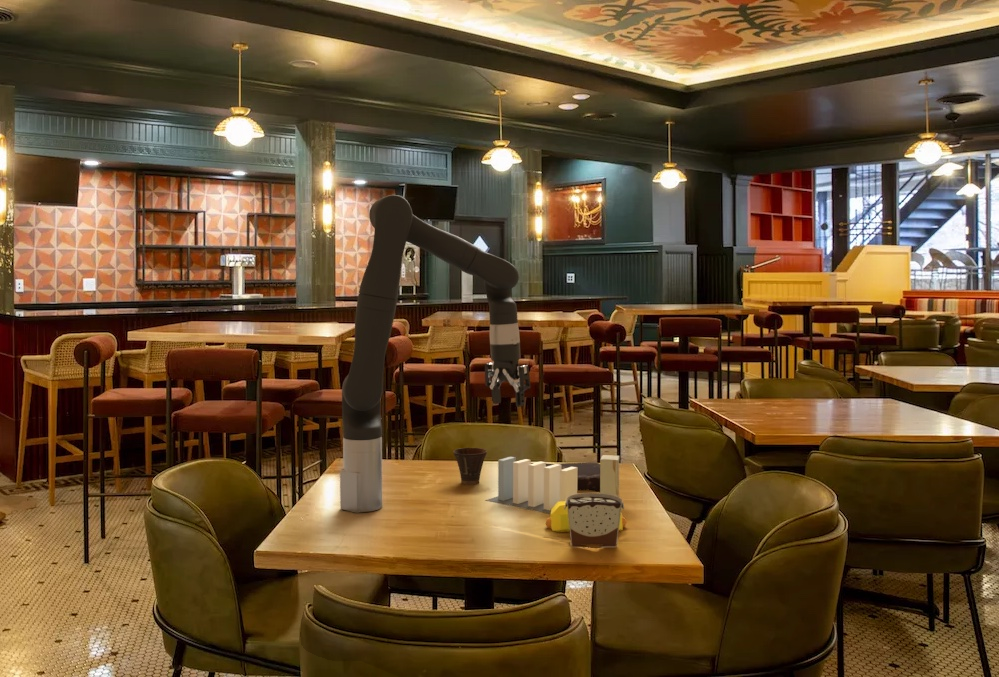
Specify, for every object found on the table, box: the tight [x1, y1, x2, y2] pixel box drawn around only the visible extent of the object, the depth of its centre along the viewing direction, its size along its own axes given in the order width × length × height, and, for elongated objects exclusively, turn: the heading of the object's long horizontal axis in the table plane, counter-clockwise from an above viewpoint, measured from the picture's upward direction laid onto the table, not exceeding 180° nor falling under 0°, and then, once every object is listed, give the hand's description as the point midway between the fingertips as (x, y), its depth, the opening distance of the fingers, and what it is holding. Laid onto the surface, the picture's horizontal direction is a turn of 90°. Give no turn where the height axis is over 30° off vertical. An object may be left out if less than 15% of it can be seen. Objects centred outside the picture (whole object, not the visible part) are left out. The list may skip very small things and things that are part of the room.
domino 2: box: [513, 458, 532, 504], centre depth 207 cm, size 5×2×10 cm, turn 142°
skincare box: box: [599, 454, 620, 498], centre depth 204 cm, size 6×4×12 cm
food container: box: [564, 492, 625, 549], centre depth 176 cm, size 12×6×10 cm, turn 92°
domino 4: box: [544, 463, 561, 510], centre depth 202 cm, size 5×2×10 cm, turn 142°
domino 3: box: [528, 460, 547, 507], centre depth 204 cm, size 5×2×10 cm, turn 142°
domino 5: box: [560, 467, 578, 501], centre depth 199 cm, size 5×2×10 cm, turn 142°
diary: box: [531, 461, 600, 493], centre depth 227 cm, size 19×25×5 cm
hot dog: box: [545, 501, 627, 533], centre depth 185 cm, size 18×7×8 cm
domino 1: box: [497, 456, 517, 501], centre depth 210 cm, size 5×2×10 cm, turn 141°
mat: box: [485, 495, 551, 515], centre depth 205 cm, size 10×25×1 cm, turn 51°
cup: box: [453, 447, 488, 486], centre depth 227 cm, size 9×9×10 cm
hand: (508, 404), depth 214 cm, fingers open, 8 cm apart
